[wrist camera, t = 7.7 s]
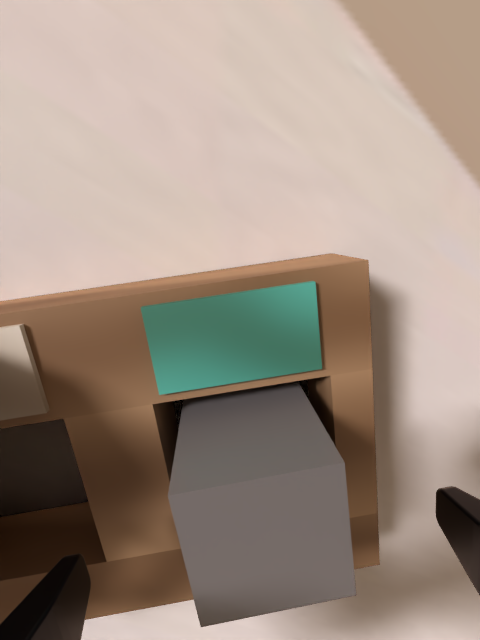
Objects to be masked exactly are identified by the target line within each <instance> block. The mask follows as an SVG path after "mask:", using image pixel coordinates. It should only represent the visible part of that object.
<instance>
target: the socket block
mask: <svg viewBox="0 0 480 640" xmlns="http://www.w3.org/2000/svg"><path fill="white" fill-rule="evenodd" d="M306 379H308V387H309V398H310V403H311V405H312V407H313V408H314V410H315V412H316V414H317V415H318V417H319V419H320V421H321V422H322V424H323V426H324V428H325V429H326V431H327V433H328V434H329V436H330V438H331V440H332V441H333V443H334V445H335V447H336V448H337V450H338V452H339V454H340V455H341V457H342V459H343V460H344V462H345V473H346V484H347V495H348V507H349V518H350V530H351V541H352V552H353V564H354V569H358V568H364V567H369V566H374V565H380V562H379V535H378V508H377V480H376V453H375V426H374V399H373V372H372V345H371V318H370V291H369V264H368V260H364V259H359V258H353V257H348V256H343V255H337V254H325V255H318V256H311V257H304V258H297V259H291V260H284V261H277V262H270V263H263V264H256V265H249V266H242V267H235V268H228V269H221V270H215V271H208V272H201V273H194V274H187V275H180V276H173V277H166V278H159V279H152V280H145V281H139V282H132V283H125V284H118V285H111V286H104V287H97V288H90V289H83V290H76V291H69V292H63V293H56V294H49V295H42V296H35V297H28V298H21V299H14V300H7V301H0V429H2V428H8V427H14V426H21V425H27V424H33V423H39V422H45V421H52V420H58V419H64V422H65V425H66V429H67V432H68V435H69V438H70V442H71V445H72V448H73V452H74V455H75V458H76V462H77V465H78V468H79V472H80V475H81V478H82V482H83V485H84V488H85V492H86V495H87V498H88V502H85V503H79V504H73V505H67V506H61V507H56V508H50V509H44V510H38V511H32V512H27V513H21V514H15V515H9V516H3V517H0V624H1V623H2V622H3V621H4V620H5V619H6V617H7V616H8V615H9V614H10V613H11V612H12V611H13V610H14V609H15V608H16V607H17V606H18V605H19V604H20V602H21V601H22V600H23V599H24V598H25V597H26V596H27V595H28V594H29V593H30V592H31V591H32V590H33V588H34V587H35V586H36V585H37V584H38V583H39V582H40V581H41V580H42V579H43V578H44V577H45V576H46V574H47V573H48V572H49V571H50V570H51V569H52V568H53V567H54V566H55V565H56V564H57V563H58V562H59V560H60V559H61V558H63V557H64V556H67V555H72V554H78V553H79V554H82V555H83V557H84V559H85V563H86V566H87V569H88V572H89V575H90V579H91V589H90V595H89V600H88V605H87V610H86V615H85V620H86V619H91V618H97V617H102V616H107V615H113V614H118V613H123V612H129V611H134V610H139V609H145V608H150V607H155V606H161V605H166V604H171V603H177V602H182V601H187V600H193V599H194V598H193V594H192V590H191V586H190V582H189V578H188V574H187V570H186V566H185V562H184V558H183V554H182V550H181V546H180V542H179V538H178V535H177V531H176V527H175V523H174V519H173V515H172V511H171V507H170V503H169V499H168V492H169V485H170V479H171V473H172V467H173V461H174V455H175V449H176V443H177V436H178V425H177V420H176V415H175V410H174V406H173V401H176V400H182V399H188V398H195V397H201V396H207V395H213V394H219V393H226V392H232V391H238V390H244V389H250V388H257V387H263V386H269V385H275V384H282V383H288V382H294V381H300V380H306Z"/></svg>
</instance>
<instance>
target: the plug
mask: <svg viewBox="0 0 480 640" xmlns="http://www.w3.org/2000/svg"><path fill="white" fill-rule="evenodd" d="M168 499H169V503H170V507H171V511H172V515H173V519H174V523H175V527H176V531H177V535H178V538H179V542H180V546H181V550H182V554H183V558H184V562H185V566H186V570H187V574H188V578H189V582H190V586H191V590H192V594H193V598H194V602H195V606H196V610H197V614H198V618H199V622H200V625H201V627H204V626H209V625H214V624H219V623H224V622H229V621H234V620H238V619H243V618H248V617H253V616H258V615H263V614H268V613H272V612H277V611H282V610H287V609H292V608H297V607H302V606H306V605H311V604H316V603H321V602H326V601H331V600H336V599H340V598H345V597H350V596H355V595H356V587H355V575H354V564H353V552H352V541H351V530H350V518H349V507H348V495H347V484H346V473H345V462H344V460H343V459H342V457H341V455H340V454H339V452H338V450H337V448H336V447H335V445H334V443H333V441H332V440H331V438H330V436H329V434H328V433H327V431H326V429H325V428H324V426H323V424H322V422H321V421H320V419H319V417H318V415H317V414H316V412H315V410H314V408H313V407H312V405H311V403H310V402H309V400H308V398H307V396H306V395H305V393H304V391H303V389H302V388H301V386H300V384H299V383H298V381H294V382H288V383H282V384H275V385H269V386H263V387H257V388H250V389H244V390H238V391H232V392H226V393H219V394H213V395H207V396H201V397H195V398H188V399H184V400H183V406H182V412H181V418H180V424H179V430H178V436H177V443H176V449H175V455H174V461H173V467H172V473H171V479H170V485H169V492H168Z"/></svg>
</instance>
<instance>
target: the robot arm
mask: <svg viewBox="0 0 480 640" xmlns="http://www.w3.org/2000/svg"><path fill="white" fill-rule="evenodd" d="M436 518H437V521H438V523H439V526H440V527H441V529H442V531H443V533H444V534H445V536H446V538H447V540H448V541H449V543H450V545H451V547H452V548H453V550H454V552H455V554H456V555H457V557H458V559H459V561H460V562H461V564H462V566H463V568H464V569H465V571H466V573H467V575H468V576H469V578H470V580H471V582H472V583H473V585H474V587H475V588H476V590H477V592H478V593H479V595H480V500H479V499H477V498H475V497H474V496H472V495H470V494H468V493H466V492H464V491H462V490H460V489H458V488H456V487H453V486H450V487H445V488H439V489H438V490H437V492H436ZM90 589H91V579H90V575H89V572H88V569H87V566H86V563H85V559H84V557H83V555H82V554H79V553H78V554H72V555H67V556H64V557H63V558H61V559H60V560H59V562H58V563H57V564H56V565H55V566H54V567H53V568H52V569H51V570H50V571H49V572H48V573H47V574H46V576H45V577H44V578H43V579H42V580H41V581H40V582H39V583H38V584H37V585H36V586H35V587H34V588H33V590H32V591H31V592H30V593H29V594H28V595H27V596H26V597H25V598H24V599H23V600H22V601H21V602H20V604H19V605H18V606H17V607H16V608H15V609H14V610H13V611H12V612H11V613H10V614H9V615H8V616H7V617H6V619H5V620H4V621H3V622H2V623H1V624H0V640H81V636H82V631H83V625H84V620H85V615H86V610H87V605H88V600H89V595H90Z"/></svg>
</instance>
